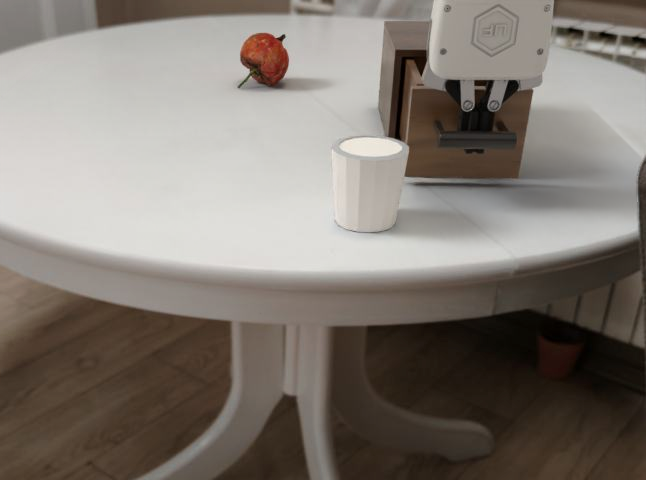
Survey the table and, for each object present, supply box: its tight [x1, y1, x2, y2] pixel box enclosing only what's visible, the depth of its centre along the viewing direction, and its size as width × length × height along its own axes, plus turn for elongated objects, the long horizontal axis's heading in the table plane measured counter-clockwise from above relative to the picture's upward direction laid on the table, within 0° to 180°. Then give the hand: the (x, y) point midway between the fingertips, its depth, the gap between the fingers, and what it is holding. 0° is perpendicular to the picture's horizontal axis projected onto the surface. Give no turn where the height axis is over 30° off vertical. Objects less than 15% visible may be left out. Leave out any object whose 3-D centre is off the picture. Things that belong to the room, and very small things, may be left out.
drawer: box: [398, 57, 534, 180], centre depth 82 cm, size 20×11×9 cm, turn 177°
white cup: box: [331, 134, 409, 233], centre depth 73 cm, size 7×7×7 cm
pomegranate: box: [237, 32, 290, 89], centre depth 113 cm, size 7×7×10 cm
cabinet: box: [377, 20, 430, 141], centre depth 96 cm, size 16×13×11 cm
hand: (472, 148), depth 77 cm, fingers closed
